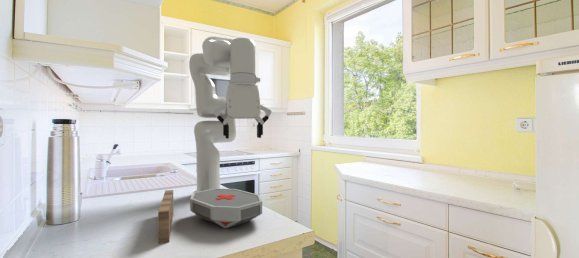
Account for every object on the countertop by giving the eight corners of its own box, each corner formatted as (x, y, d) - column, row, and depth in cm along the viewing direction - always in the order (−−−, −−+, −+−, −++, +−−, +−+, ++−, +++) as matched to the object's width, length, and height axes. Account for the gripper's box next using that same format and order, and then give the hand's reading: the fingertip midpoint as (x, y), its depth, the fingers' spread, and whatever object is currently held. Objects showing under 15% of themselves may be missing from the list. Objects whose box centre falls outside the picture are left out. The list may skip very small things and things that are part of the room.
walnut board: (165, 214, 98) (165, 190, 98) (173, 213, 99) (173, 189, 99) (158, 243, 75) (158, 212, 74) (169, 241, 76) (168, 211, 75)
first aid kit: (180, 218, 95) (225, 239, 78) (180, 195, 94) (225, 211, 78) (225, 206, 108) (272, 222, 91) (225, 186, 107) (272, 198, 90)
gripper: (268, 83, 94) (268, 136, 94) (212, 81, 88) (213, 137, 89) (274, 80, 86) (274, 138, 87) (214, 77, 81) (214, 139, 81)
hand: (243, 137), depth 88 cm, fingers open, 9 cm apart
